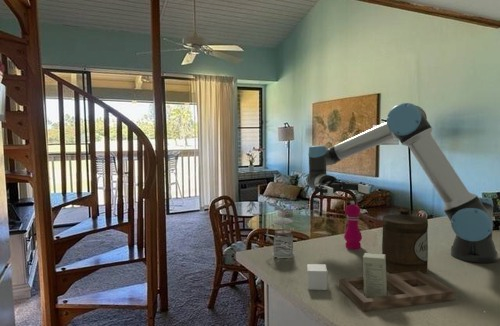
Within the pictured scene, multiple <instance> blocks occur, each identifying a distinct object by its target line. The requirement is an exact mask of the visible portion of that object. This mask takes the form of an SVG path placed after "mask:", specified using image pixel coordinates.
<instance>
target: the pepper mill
mask: <svg viewBox="0 0 500 326" xmlns="http://www.w3.org/2000/svg"><path fill="white" fill-rule="evenodd" d="M344 211H345V214H346V219H347V228H346V230H345V232H344V235H343V236H344V237H343V238H344V240H345V248H347V249H348V250H360V249H361V246H362V243H361V241H362V240H363V239H362V238H363V236H362V232H361V231H360V228H359V225H358V222H359V220H360V216H359V215H360V214H361V209H360V207H359V205H357V204H355V201H354V200H350V204H347V206H345V210H344Z"/></svg>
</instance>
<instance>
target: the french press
mask: <svg viewBox="0 0 500 326" xmlns="http://www.w3.org/2000/svg"><path fill="white" fill-rule="evenodd" d="M279 197H280V198H281V207H282V208H281V210H282V211H281V213H282V217H277V218H276V219H274V220H273V221H272V223H273V224H270V225H269V226H268V227H267V229H266V232H265V233H266V238H267V239H268V241H269V242H270V243H272V244H273V245H272V246H273V252H272V254H271V256H272V257H273V256H274V257H273V258H275V257H277V258H276V259H280V258H288V259H293V258H294V257H296V253H295V252H294V238H293V237H294V235H293V234H292V233H293V230H291V229H288V228H287V229H286V228H281V229H274V228H275V225H278V226H279V225H281V226H286V225H292V224H293V223H294V222H293V220H292V219H290V218H288V217H284V209H283V208H284V206H283V202H284V200H283V198H284V197H285V194H284V193H281V194H280V195H279ZM271 227H272V229H274V235H273V240H272V239H271V238H270V236H269V229H270V228H271Z"/></svg>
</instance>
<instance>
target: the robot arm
mask: <svg viewBox="0 0 500 326" xmlns="http://www.w3.org/2000/svg"><path fill="white" fill-rule="evenodd" d="M432 131H433V127H432V125H431V124H430V122H429V121H428V117H427V114H426V111H425V110H424V109H423V108H422V107H420V106H419V105H415V104H414V103H410V102H402V103H400V104H397V105H395V106H393V107H392V108H391V109H390V110H389V112H388V114H387V117H386V121H385V122H383V123H380V124H379V125H377V126H375V127H372V128H371V129H367V130H365V131H364V132H361V133H359V134H357V135H355V136H352V137H350V138H348V139H345V140H344V141H342V142H339V143H337V144H335V145H333V146H330V147H328V148H327V146H326V145H311V146H309V147H308V170H309V171H308V175H307V176H306V179H305V180H306V184H307V185H308V187H310V188H311V189H313V190H314V193H315V194H318V193H319V195H320V196H324V195H326V196H330V197H334V194H335V193H336V192H339V191H341V192H342V191H343V192H344V191H346V190H347V191H348V190H349V191H358V193H363V194H366V195H369V194H370V186H369V185H367V184H366V183H364V182H362V181H360V182H351V181H347V180H346V181H340V180H338V179H337V177H336V176H334V175H329V174H327V166H333V165H336V164H337V163H338V162H341V161H343V160H345V159H348V158H350V157H352V156H354V155H355V156H356V155H357V154H360V153H362V152H364V151H367V150H369V149H372V148H374V147H376V146H378V145H381V144H383V143H386V142H389V141H390V140H393V139H397V140H399V142H400V143H401V145H403V146H406V147H408V148H409V150H410V151H411V152H412V154H413V156H414V157H415V159H416V160H417V162H418V164H419V165H420V167H421V168H422V170H423V171H424V173H425V174H426V176H427V178H428V179H429V181H430V182H431V184H432V187H434V189H435V190H436V192H437V193H438V195H439V197H440V198H441V200H442V202H443V204H444V206H443V212H444V213H445V215H446V216H447V218H448V219H449V222H450V226H451V229H452V230H453V232H454V234H455V237H454V239H453V243H452V245H451V247H450V255H451V256H452V257H454V258H456V259H458V260H462V261H466V262H472V263H478V264H479V263H480V264H489V263H490V264H491V263H494V262H495V263H496V262H497V261H498V259H499V258H498V254H499V253H498V251H497V249H496V245H495V243H494V240H493V228H494V221H493V220H494V219H493V217H494V215H493V214H494V211H493V210H494V201H493V199H492V198H490V197H483V196H481V197H479V196H478V195H477V194H475V193H471V192H470V191H469V190H468V188H467V187H466V185H465V184H464V182H463V181H462V179H461V178H460V176H459V175H458V174H457V172H456V170H455V168H454V167H453V166H452V165H451V162H450V161H449V160H448V159H447V157H446V155H445V153H444V152H443V150H442V149H441V148H440V146H439V145H438V142H436V140H435V138H434V137H433V136H432Z"/></svg>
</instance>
